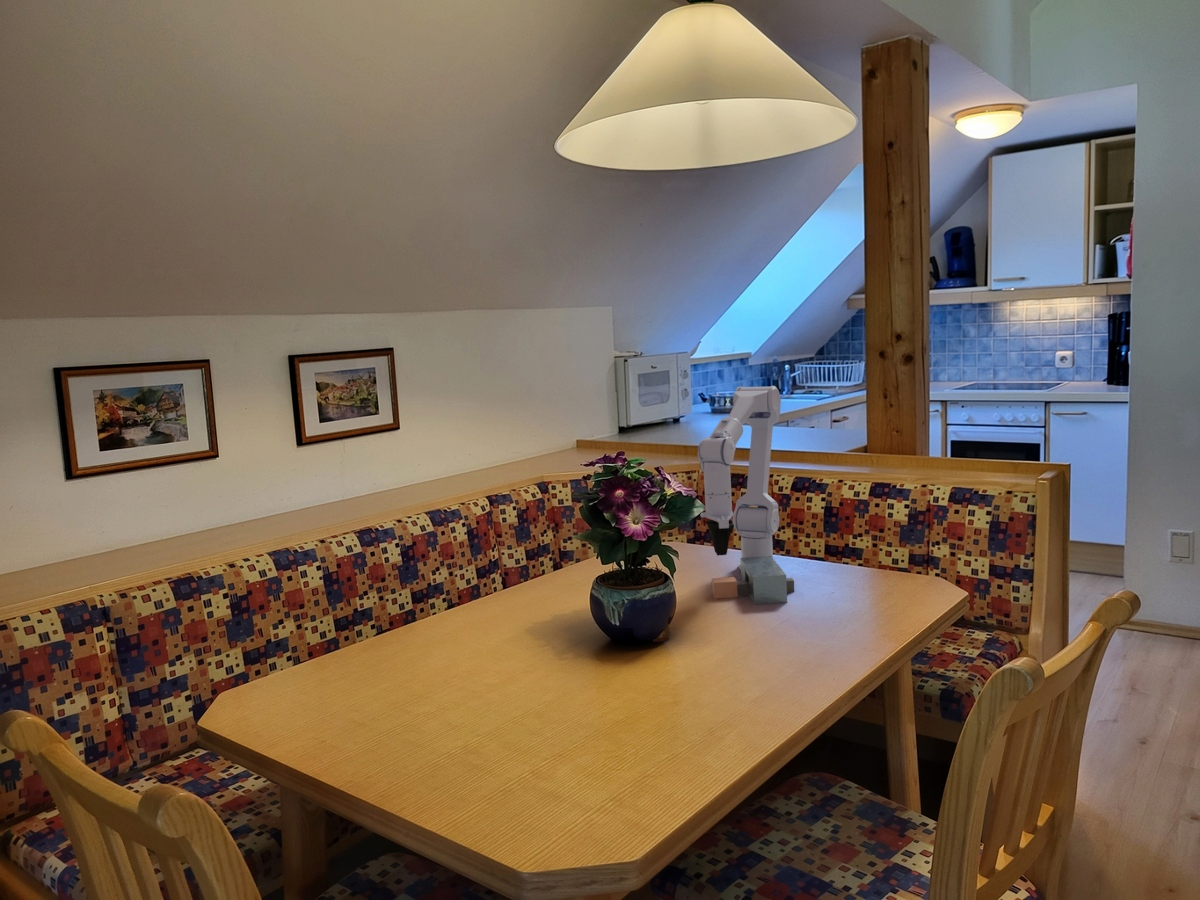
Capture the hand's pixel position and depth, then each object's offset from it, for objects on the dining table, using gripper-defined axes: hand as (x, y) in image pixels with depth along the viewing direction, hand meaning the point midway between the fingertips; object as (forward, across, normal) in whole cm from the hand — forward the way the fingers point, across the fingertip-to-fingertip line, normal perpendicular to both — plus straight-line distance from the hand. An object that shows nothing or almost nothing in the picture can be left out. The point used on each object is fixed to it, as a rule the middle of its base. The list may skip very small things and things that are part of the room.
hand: (720, 553), depth 202 cm
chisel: (+9, 0, +7) cm, 12 cm away
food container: (+10, +23, -19) cm, 31 cm away
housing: (+9, 0, +9) cm, 13 cm away
